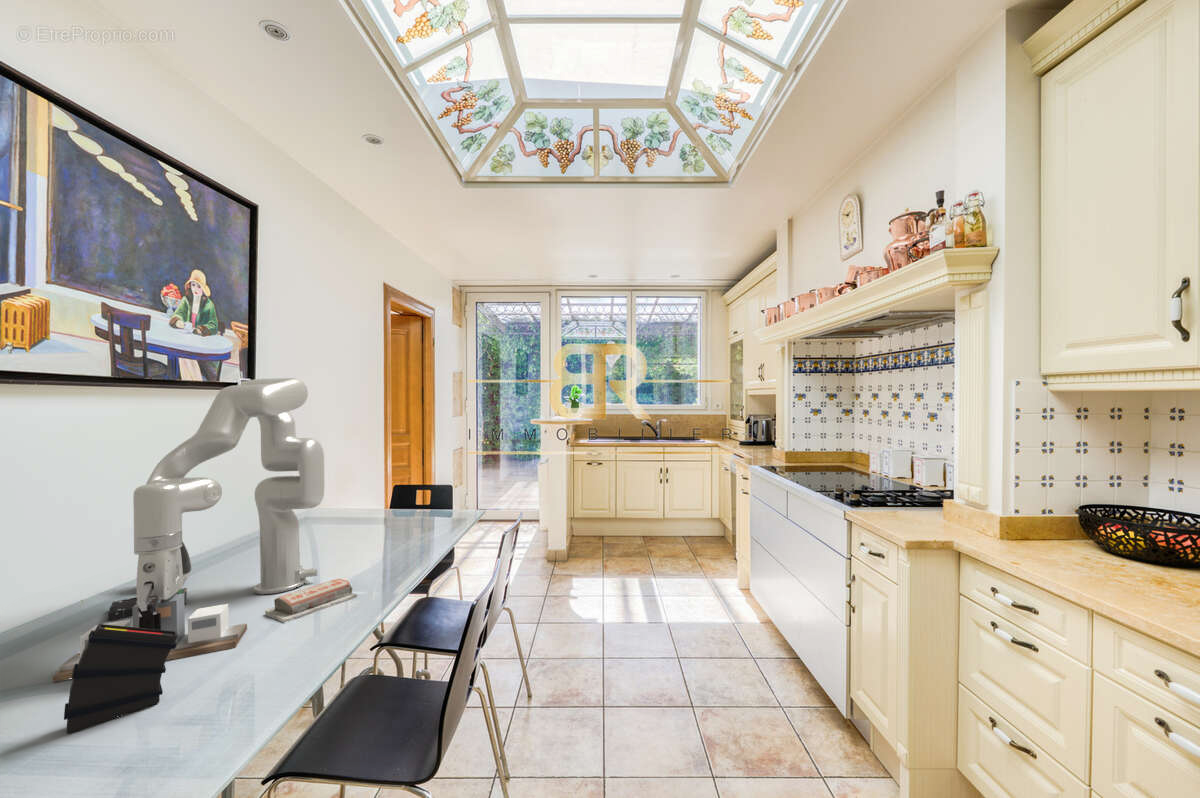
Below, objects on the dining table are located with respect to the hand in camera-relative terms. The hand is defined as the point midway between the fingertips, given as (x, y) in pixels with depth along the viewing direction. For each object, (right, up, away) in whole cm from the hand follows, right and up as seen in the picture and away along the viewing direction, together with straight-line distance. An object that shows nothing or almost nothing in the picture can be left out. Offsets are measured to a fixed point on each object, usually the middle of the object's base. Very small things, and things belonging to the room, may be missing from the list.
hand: (159, 625), depth 101 cm
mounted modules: (0, -4, 0) cm, 4 cm away
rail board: (0, -6, 0) cm, 6 cm away
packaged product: (+18, -6, +23) cm, 30 cm away
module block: (0, -4, 0) cm, 4 cm away
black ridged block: (+13, -5, -21) cm, 25 cm away
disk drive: (-26, -8, +26) cm, 38 cm away
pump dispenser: (-36, -8, +43) cm, 56 cm away
